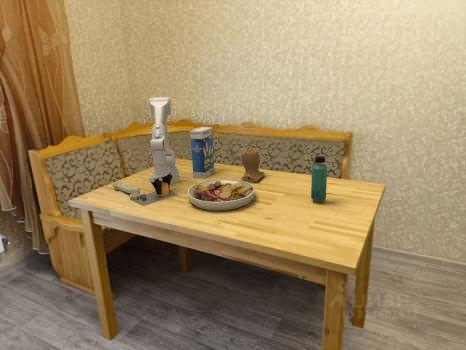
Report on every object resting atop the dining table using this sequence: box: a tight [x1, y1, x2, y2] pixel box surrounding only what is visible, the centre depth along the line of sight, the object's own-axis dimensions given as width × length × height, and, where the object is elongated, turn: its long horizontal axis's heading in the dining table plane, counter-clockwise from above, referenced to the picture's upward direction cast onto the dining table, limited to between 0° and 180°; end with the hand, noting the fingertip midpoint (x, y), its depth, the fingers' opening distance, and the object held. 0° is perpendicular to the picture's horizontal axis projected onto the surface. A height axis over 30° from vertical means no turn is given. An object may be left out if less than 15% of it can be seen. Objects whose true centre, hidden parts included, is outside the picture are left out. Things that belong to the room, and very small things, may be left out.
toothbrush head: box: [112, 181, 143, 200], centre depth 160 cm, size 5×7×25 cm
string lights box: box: [189, 126, 215, 179], centre depth 183 cm, size 13×8×26 cm, turn 159°
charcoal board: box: [129, 190, 178, 207], centre depth 153 cm, size 18×12×4 cm, turn 135°
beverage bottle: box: [310, 155, 328, 202], centre depth 141 cm, size 6×7×20 cm
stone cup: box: [240, 149, 265, 183], centre depth 176 cm, size 15×12×15 cm
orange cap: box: [159, 182, 170, 196], centre depth 156 cm, size 5×5×5 cm
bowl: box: [187, 178, 256, 212], centre depth 149 cm, size 30×30×8 cm
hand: (163, 192), depth 156 cm, fingers closed on orange cap, 5 cm apart
